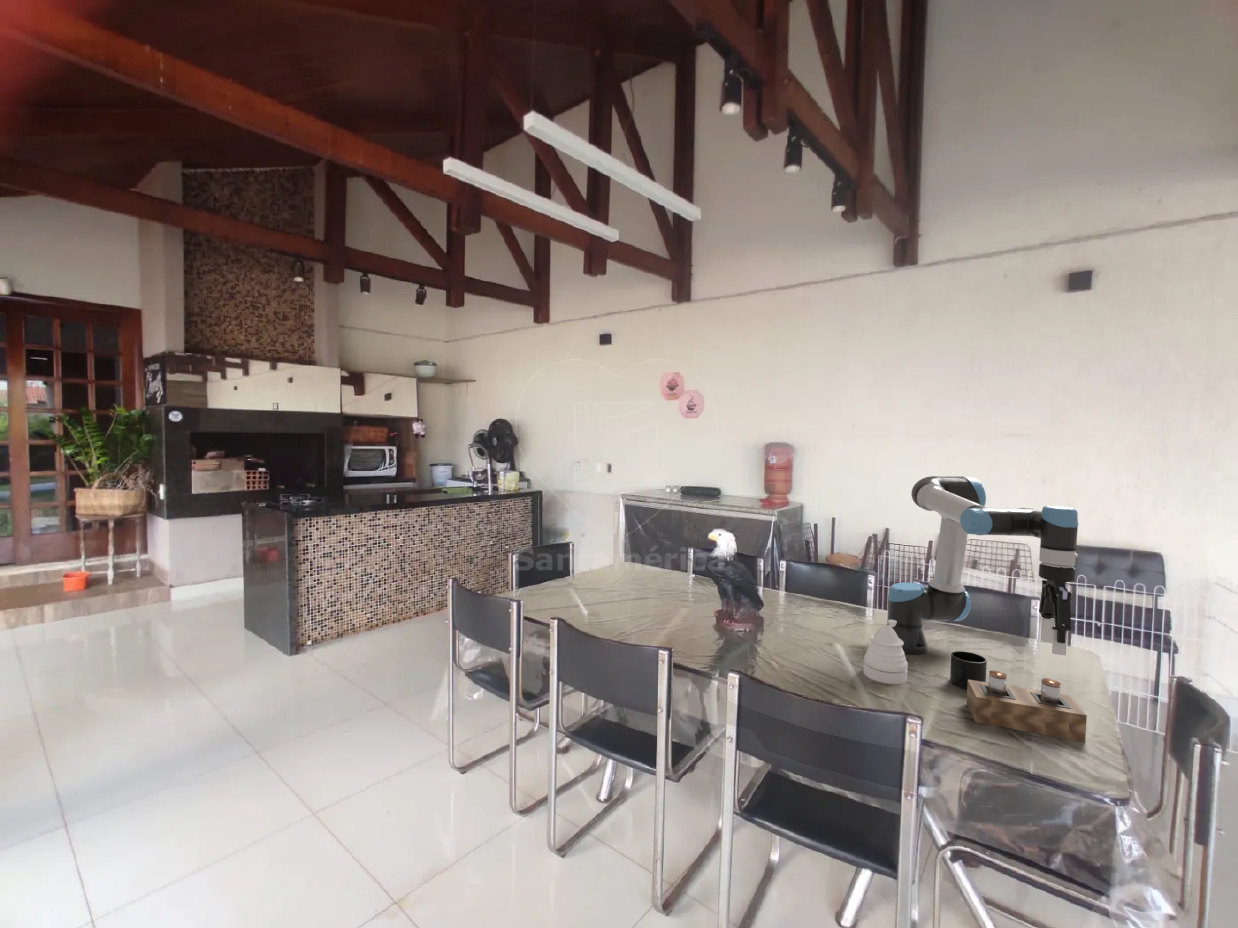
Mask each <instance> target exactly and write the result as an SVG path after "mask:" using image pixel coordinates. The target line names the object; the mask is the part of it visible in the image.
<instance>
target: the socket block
mask: <svg viewBox="0 0 1238 928" xmlns="http://www.w3.org/2000/svg"><path fill="white" fill-rule="evenodd" d="M988 690H989V682H987V681H986V682H981V681H975V680H968V684H967V690H966V705H967V706H968V710H969V711H970V714H971V715H972V719H973V720H974V722H975V723H978V724H984V725H990V726H996V727H1000V726H1001V727H1000V728H1005V729H1011V730H1016V731H1017V730H1018V731H1024V732H1029V733H1034V734H1038V735H1039V734H1040V735H1045V736H1051V737H1057V738H1061V739H1066V740H1072V741H1078V742H1083V743H1086V735H1087V734H1086V733H1087V721H1088V720H1087V713H1085V711H1084V710H1083V709H1082V708H1081V707H1080V705H1078V704H1077V702H1076V701H1075V700H1074V699H1073V698H1072V696H1071V695H1068V694H1063V693H1062V694H1061V693H1060V704H1059V705H1057V704H1051V703H1045V702H1041V690H1037V689H1030V688H1025V687H1019V686H1018V687H1017V686H1013V685H1006V696H1002V695H996V694H990V693H988Z"/></svg>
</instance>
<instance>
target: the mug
mask: <svg viewBox="0 0 1238 928" xmlns="http://www.w3.org/2000/svg"><path fill="white" fill-rule="evenodd" d="M987 661H988V660H987V658H985V657H984V656H983V655H982V656H981V655H980V654H977V653H973V652H969V651H962V650H957V651H953V652H951V653H950V675H949V678H950V679H949V681H950V683H951V684H952V685H953V686H955V687H957V688H959V689H962V690H965V691H967V684H968V680H975V681H981V682H987V663H988V662H987Z"/></svg>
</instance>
